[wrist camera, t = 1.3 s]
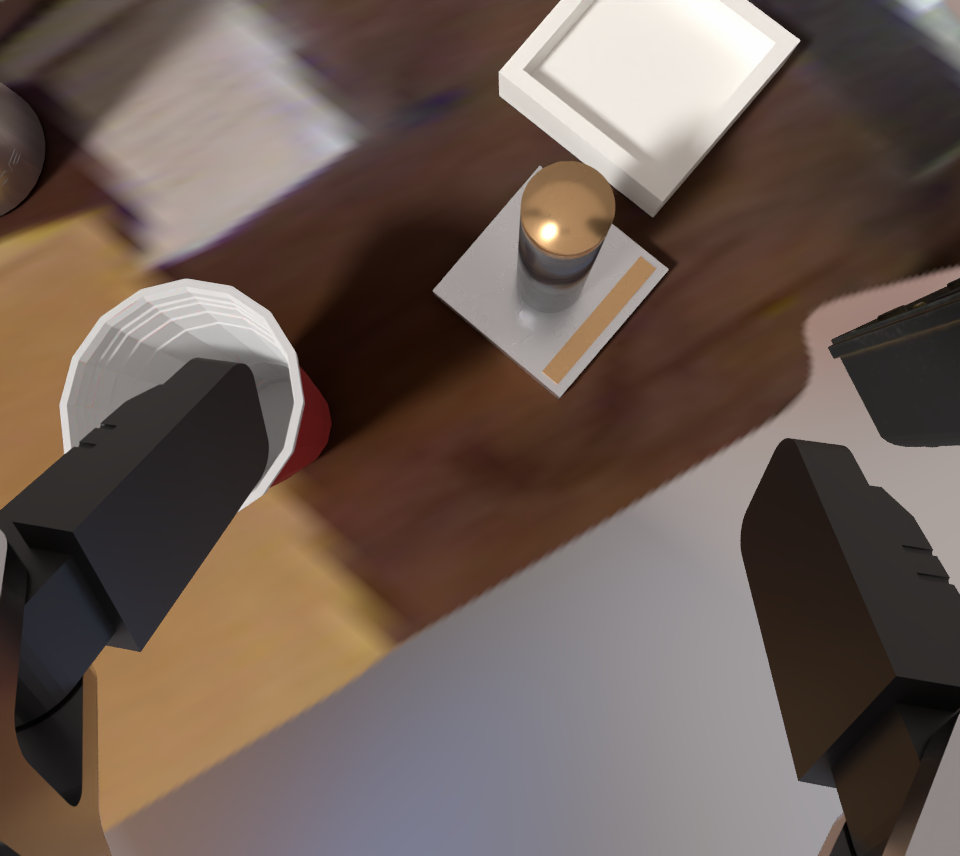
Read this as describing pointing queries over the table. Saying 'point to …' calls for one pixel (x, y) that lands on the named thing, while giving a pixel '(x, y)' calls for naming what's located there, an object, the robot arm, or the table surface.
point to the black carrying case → (910, 369)
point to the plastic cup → (191, 334)
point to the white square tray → (644, 83)
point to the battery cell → (561, 233)
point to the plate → (536, 335)
